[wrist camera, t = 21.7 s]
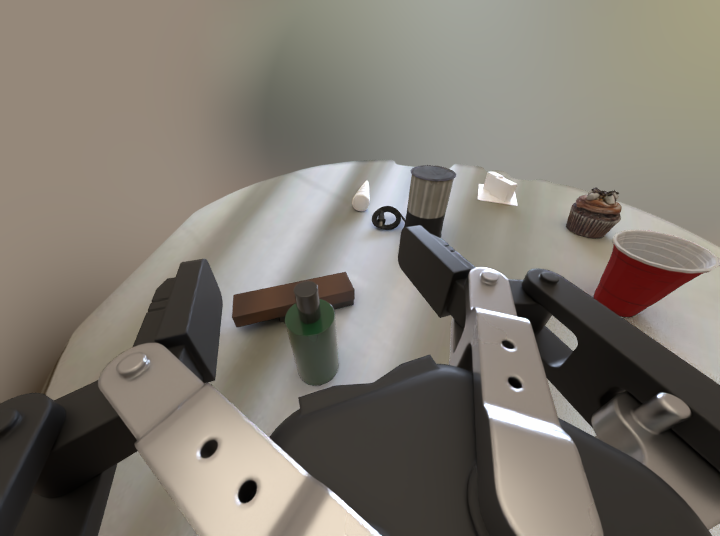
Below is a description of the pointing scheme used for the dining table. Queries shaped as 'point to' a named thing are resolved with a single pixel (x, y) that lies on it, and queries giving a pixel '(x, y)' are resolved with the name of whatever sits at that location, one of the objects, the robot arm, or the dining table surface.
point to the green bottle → (312, 335)
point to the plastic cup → (649, 269)
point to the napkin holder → (497, 189)
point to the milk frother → (423, 200)
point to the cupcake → (594, 214)
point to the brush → (288, 299)
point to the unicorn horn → (362, 198)
